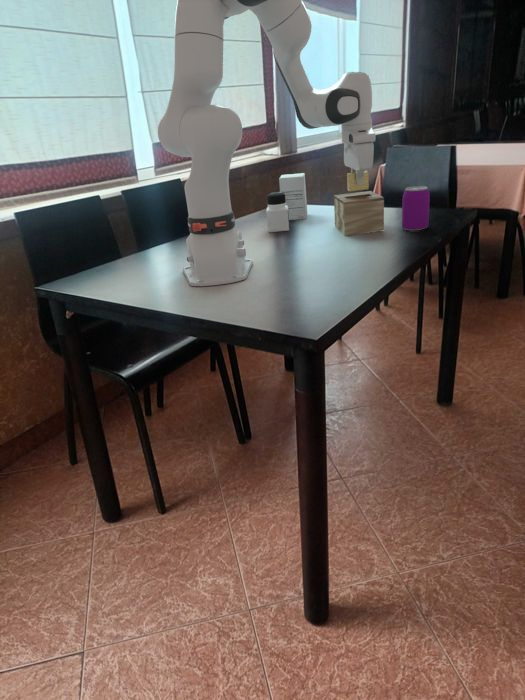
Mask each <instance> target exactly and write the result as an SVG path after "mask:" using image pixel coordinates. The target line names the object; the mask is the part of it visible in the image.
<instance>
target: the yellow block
mask: <svg viewBox="0 0 525 700" xmlns="http://www.w3.org/2000/svg"><path fill="white" fill-rule="evenodd" d="M369 173H370V172H369V171H364V176H363V184H362V185H357V184H356V175H357V173H356V172H354V173H351V172H347V173H346V181H347V183H346V186H347V191H348V192H355V191H364V190H369V187H370V186H369V184H370V183H369V178H370V177H369V176H370V175H369Z"/></svg>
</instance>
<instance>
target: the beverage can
mask: <svg viewBox="0 0 525 700" xmlns="http://www.w3.org/2000/svg"><path fill="white" fill-rule="evenodd" d="M430 196H431V194H430V191H429V188H428V186H424V185H418V186H417V185H415V186H408V187H405V190H404V192H403V195H402V204H401V205H402V206H401V207H402V209H401V210H402V211H401V214H402V215H401V228H402V229H403V230H404V229H406V230H421V229H425V228H426V229H427V228H428V227H429V224H430V223H429V221H430V220H429V219H430V216H429V215H430V201H431V198H430ZM426 229H425V230H426ZM406 230H405V231H406Z"/></svg>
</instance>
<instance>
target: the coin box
mask: <svg viewBox="0 0 525 700" xmlns="http://www.w3.org/2000/svg"><path fill="white" fill-rule="evenodd" d="M333 203H334V204H333V205H334V206H333V207H334V210H333V211H334V227H335V228H336V229H337V230H338V231H339V232H340V233H341V234H343V236H345V237H346V236H353V235H354V236H355V235H356V236H357V235H363V234H370V232H372V233H377V232H376V231H380V232H383V231H382V230H384V231H385V197H384V196H382V195H380V194H379V193H376V192H374V191H372V190H367V191H359V192H352V193H351V192H350V193H343V194H342V193H341V194H334V195H333Z"/></svg>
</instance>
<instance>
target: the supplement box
mask: <svg viewBox="0 0 525 700" xmlns="http://www.w3.org/2000/svg"><path fill="white" fill-rule="evenodd" d="M305 175H306V173H305V172H301V173H299V172H298V173H293V174H292V173H289V174H281V175H280V177H279V178H278V181H279V183H278V184H279V192H282V193H284V194H285V198H286V205H287V206H288V214H289V221H293V220H307V217H308V203H307V202H308V199H307V187H306V186H307V185H306V176H305Z"/></svg>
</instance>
